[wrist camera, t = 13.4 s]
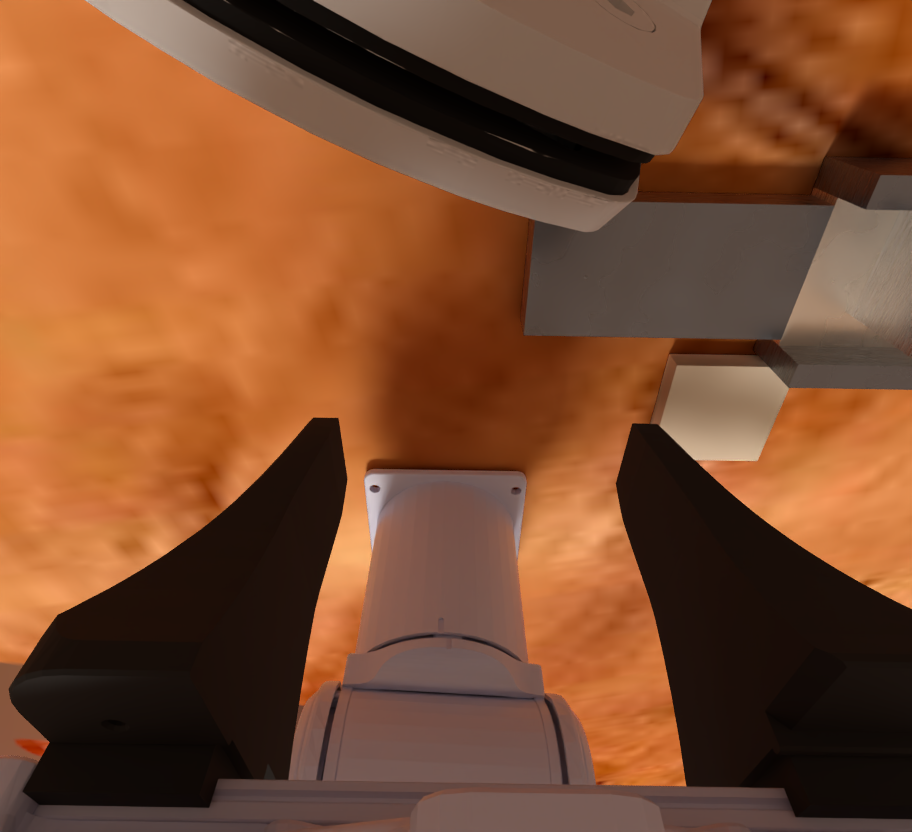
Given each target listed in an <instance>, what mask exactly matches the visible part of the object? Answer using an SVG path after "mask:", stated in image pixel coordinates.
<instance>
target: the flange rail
mask: <svg viewBox="0 0 912 832" xmlns="http://www.w3.org/2000/svg"><path fill="white" fill-rule="evenodd" d="M900 210H911V211H912V158H866V157H825V159H824V162H823V164H822V167H821V170H820V172H819V175H818V178H817V180H816V183H815V186H814V188H813V191H812V194H811V195H789V194H735V193H682V192H638V193H637V195H636V198H635V199H634V200H633V201H632V202H631V203H629V204H628V205H627V206H626V207H625V208H624V209H622V210H621V211H620V212H619V213H618V214H616V215H615V216H614V217H613V218H612V219H611V220H609V221H608V222H607V223H606V224H605V225H603V226H602V227H601V228H600V229H598V230H596V231H594V232H582V231H578V230H574V229H569V228H565V227H561V226H557V225H552V224H548V223H544V222H541V221H537V220H534V219H530V218H529V227H528V238H527V249H526V260H525V271H524V282H523V293H522V304H521V314H520V321H521V325H522V330H523V335H532V336H591V337H649V338H708V339H757V341H756V343H755V346H754V349H753V350H754V352H755V353H756V354H757V355H758V356H759V357H760V358H761V359H762V360H763V361H764V362H765V363H766V364H767V365H768V366H769V368H770V369H771V370H772V371H773V372H774V373H775V374H776V375H777V376H778V377H779V378H780V379H781V380H782V381H783V383H784V384H785V385H786V386H787V387H788V388H843V389H903V390H912V359H911V358H910V357H908V356H907V355H906V354H904V353H903V352H901V351H900V350H899V349H897V348H896V347H894V346H893V345H892V344H890V343H889V342H887V341H886V340H885V339H883V338H882V337H880V336H879V335H878V334H876V333H875V332H873V331H872V330H871V329H869V328H868V327H866V326H865V325H864V324H862V323H861V322H859V321H858V320H857V319H855V318H854V317H852V316H851V315H852V313H853V311H854V309H855V306H856V304H857V302H858V300H859V298H860V296H861V294H862V291H863V289H864V287H865V285H866V283H867V281H868V279H869V277H870V274H871V272H872V270H873V268H874V266H875V264H876V262H877V259H878V257H879V255H880V253H881V251H882V249H883V247H884V245H885V242H886V240H887V238H888V236H889V234H890V232H891V230H892V228H893V225H894V223H895V221H896V219H897V217H898V215H899V213H900Z"/></svg>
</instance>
